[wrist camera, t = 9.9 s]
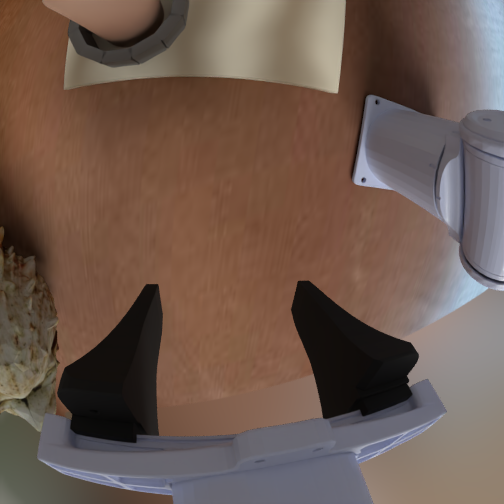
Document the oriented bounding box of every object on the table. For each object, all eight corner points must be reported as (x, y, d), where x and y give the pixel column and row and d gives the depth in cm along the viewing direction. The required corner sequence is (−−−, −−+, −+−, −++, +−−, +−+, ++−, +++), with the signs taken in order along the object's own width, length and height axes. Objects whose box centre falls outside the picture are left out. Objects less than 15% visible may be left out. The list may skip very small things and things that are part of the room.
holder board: (340, -5, 13) (362, -17, 10) (331, 93, 17) (354, 93, 15) (86, -14, 9) (69, -28, 6) (69, 89, 14) (46, 89, 11)
